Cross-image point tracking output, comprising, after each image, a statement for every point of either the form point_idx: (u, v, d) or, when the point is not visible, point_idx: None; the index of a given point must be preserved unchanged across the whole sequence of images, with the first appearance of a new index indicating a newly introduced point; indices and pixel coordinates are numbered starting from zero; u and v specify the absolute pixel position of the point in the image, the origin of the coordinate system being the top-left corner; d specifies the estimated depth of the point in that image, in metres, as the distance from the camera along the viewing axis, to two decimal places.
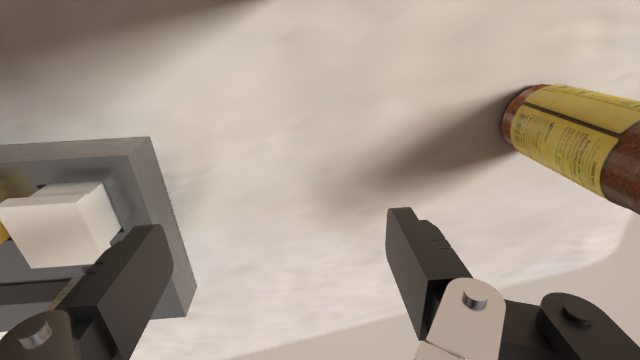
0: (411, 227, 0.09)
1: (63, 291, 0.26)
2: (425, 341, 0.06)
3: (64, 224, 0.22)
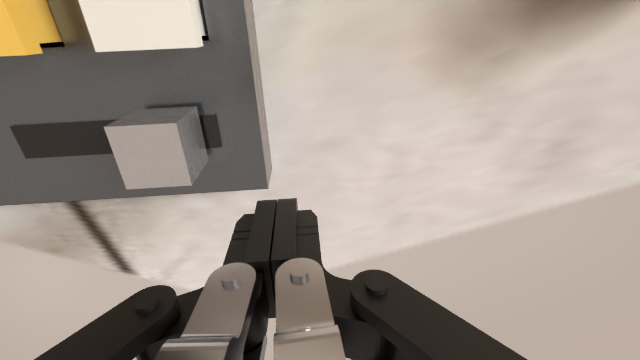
0: (285, 215, 0.10)
1: (128, 115, 0.19)
2: (276, 334, 0.06)
3: None
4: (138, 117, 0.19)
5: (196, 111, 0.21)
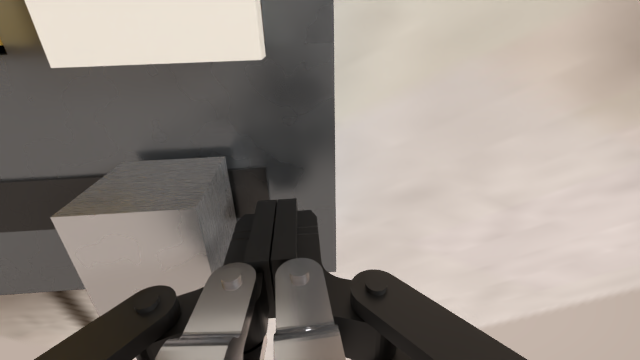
0: (285, 215, 0.10)
1: (105, 179, 0.11)
2: (276, 334, 0.06)
3: None
4: (123, 186, 0.10)
5: (224, 165, 0.12)
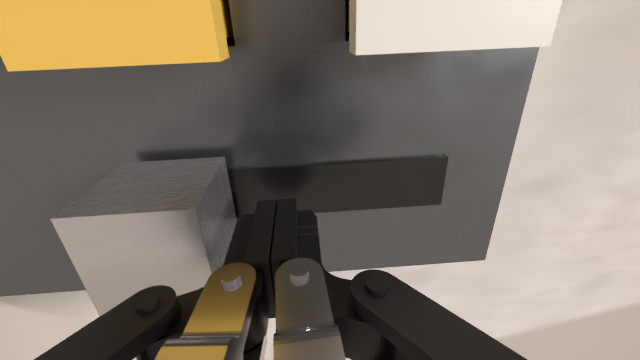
0: (285, 215, 0.10)
1: (105, 180, 0.11)
2: (276, 334, 0.06)
3: None
4: (123, 187, 0.10)
5: (224, 165, 0.12)
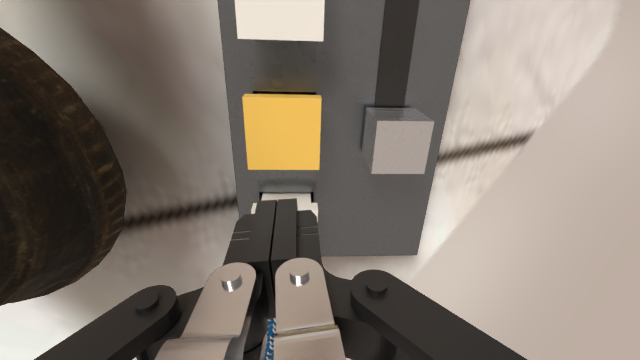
0: (285, 215, 0.10)
1: (365, 158, 0.25)
2: (276, 334, 0.06)
3: None
4: (368, 151, 0.24)
5: (370, 108, 0.25)
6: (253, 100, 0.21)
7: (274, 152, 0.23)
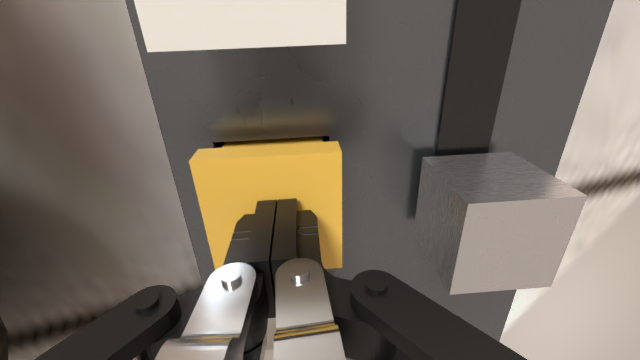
0: (285, 215, 0.10)
1: (426, 249, 0.14)
2: (276, 334, 0.06)
3: None
4: (434, 241, 0.13)
5: (431, 158, 0.13)
6: (211, 165, 0.11)
7: None
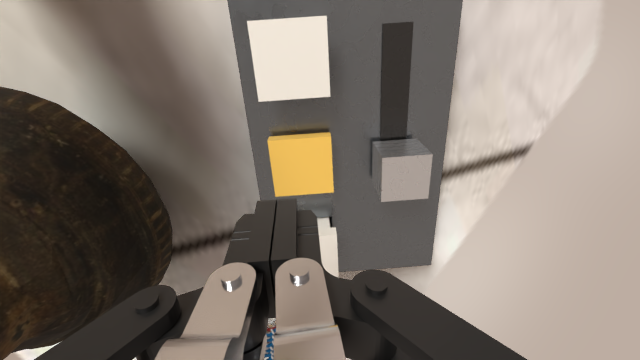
0: (285, 215, 0.10)
1: (375, 186, 0.28)
2: (276, 335, 0.06)
3: (274, 42, 0.21)
4: (377, 181, 0.27)
5: (376, 142, 0.28)
6: (276, 142, 0.26)
7: (296, 181, 0.28)
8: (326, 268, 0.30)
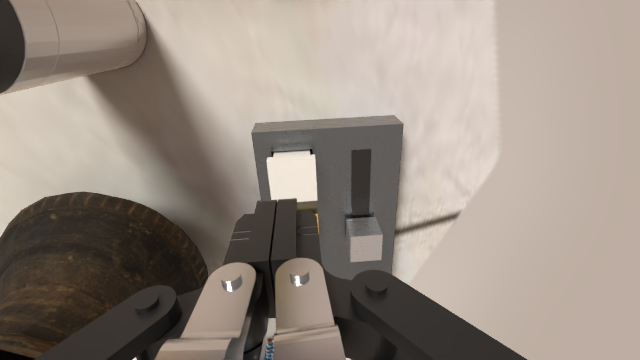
0: (285, 215, 0.10)
1: None
2: (276, 334, 0.06)
3: (282, 172, 0.35)
4: (348, 246, 0.41)
5: (348, 219, 0.41)
6: None
7: None
8: None
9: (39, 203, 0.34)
